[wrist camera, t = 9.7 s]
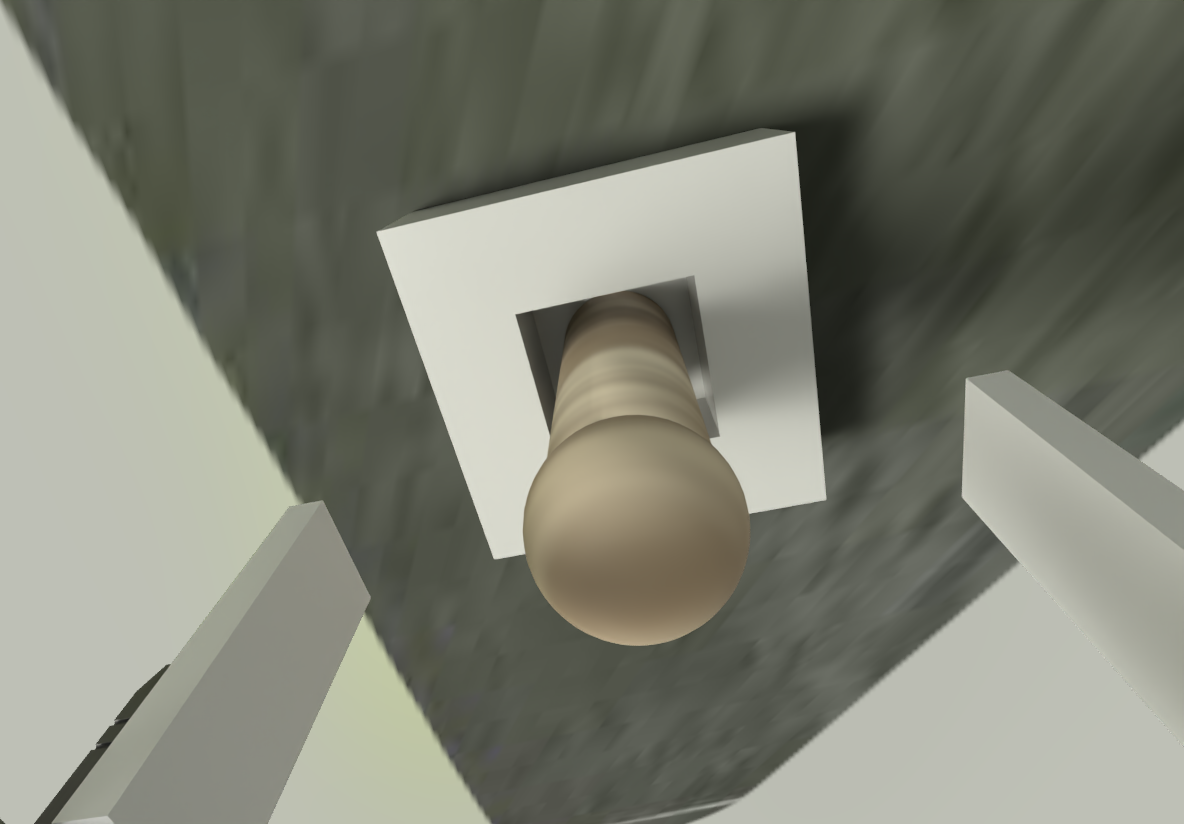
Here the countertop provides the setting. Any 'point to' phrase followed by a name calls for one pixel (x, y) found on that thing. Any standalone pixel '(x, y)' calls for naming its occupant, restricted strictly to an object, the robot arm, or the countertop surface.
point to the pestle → (632, 485)
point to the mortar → (612, 264)
